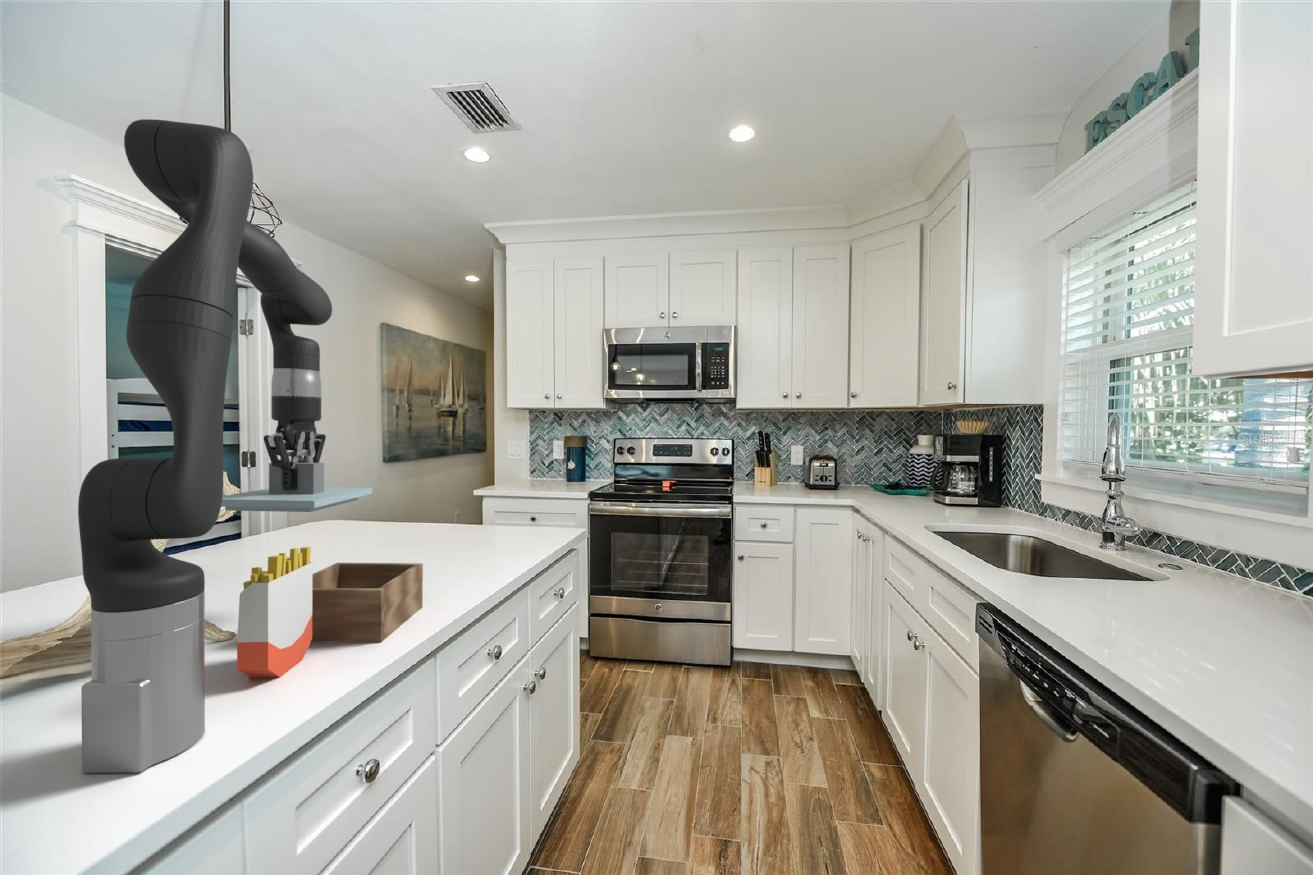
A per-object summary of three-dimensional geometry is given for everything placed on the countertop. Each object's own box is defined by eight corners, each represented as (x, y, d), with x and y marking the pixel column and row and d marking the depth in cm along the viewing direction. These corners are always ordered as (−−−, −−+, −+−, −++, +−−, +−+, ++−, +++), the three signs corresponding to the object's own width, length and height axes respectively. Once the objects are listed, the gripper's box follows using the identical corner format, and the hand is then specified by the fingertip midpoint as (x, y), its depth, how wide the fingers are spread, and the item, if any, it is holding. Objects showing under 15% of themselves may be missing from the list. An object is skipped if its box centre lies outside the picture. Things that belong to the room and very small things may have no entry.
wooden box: (381, 642, 88) (381, 590, 88) (279, 642, 87) (279, 589, 87) (422, 607, 105) (422, 563, 105) (337, 606, 104) (337, 562, 104)
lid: (314, 514, 86) (314, 468, 86) (205, 512, 86) (205, 466, 86) (372, 498, 104) (372, 460, 104) (282, 496, 104) (282, 458, 104)
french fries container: (234, 687, 73) (234, 560, 72) (282, 653, 83) (283, 542, 83) (268, 686, 73) (268, 560, 72) (312, 652, 84) (313, 542, 83)
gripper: (290, 393, 87) (290, 494, 88) (340, 397, 101) (340, 484, 102) (246, 392, 87) (246, 493, 88) (302, 396, 101) (301, 484, 102)
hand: (296, 488), depth 95 cm, fingers closed on lid, 3 cm apart
